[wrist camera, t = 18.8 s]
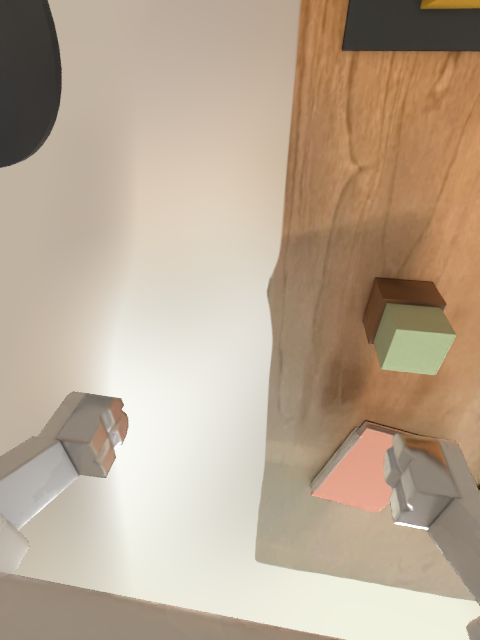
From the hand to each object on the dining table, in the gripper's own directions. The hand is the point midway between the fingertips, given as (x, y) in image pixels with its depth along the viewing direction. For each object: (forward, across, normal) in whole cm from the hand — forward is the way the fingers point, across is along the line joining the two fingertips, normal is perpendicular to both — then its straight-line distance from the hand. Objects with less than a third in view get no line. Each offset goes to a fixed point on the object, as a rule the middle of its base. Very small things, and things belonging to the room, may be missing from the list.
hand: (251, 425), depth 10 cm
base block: (+33, -16, +16) cm, 40 cm away
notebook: (+33, -22, +56) cm, 69 cm away
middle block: (+28, -16, +16) cm, 36 cm away
